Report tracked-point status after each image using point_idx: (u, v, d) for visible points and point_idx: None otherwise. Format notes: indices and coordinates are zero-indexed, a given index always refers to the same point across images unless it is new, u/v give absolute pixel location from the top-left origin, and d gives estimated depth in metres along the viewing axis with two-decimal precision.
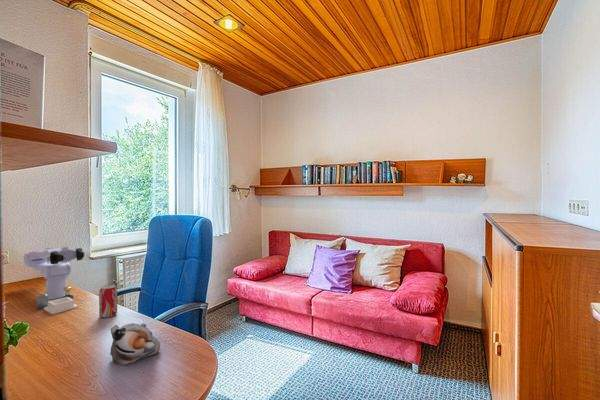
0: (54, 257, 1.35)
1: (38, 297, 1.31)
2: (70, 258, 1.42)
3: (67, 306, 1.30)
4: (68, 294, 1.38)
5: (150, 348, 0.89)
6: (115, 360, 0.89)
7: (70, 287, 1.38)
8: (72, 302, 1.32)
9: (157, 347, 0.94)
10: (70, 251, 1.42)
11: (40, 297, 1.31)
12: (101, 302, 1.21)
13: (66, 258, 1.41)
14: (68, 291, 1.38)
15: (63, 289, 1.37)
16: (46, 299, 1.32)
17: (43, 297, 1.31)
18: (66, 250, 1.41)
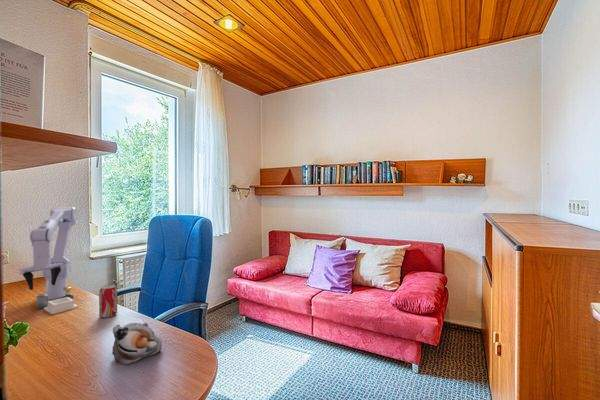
0: None
1: (38, 297, 1.31)
2: None
3: (67, 306, 1.30)
4: (68, 294, 1.38)
5: (152, 347, 0.89)
6: (117, 359, 0.89)
7: (70, 287, 1.38)
8: (72, 302, 1.32)
9: (159, 346, 0.95)
10: (49, 267, 1.33)
11: (40, 297, 1.31)
12: (101, 302, 1.21)
13: None
14: (68, 291, 1.38)
15: (63, 289, 1.37)
16: (46, 299, 1.32)
17: (43, 297, 1.31)
18: None
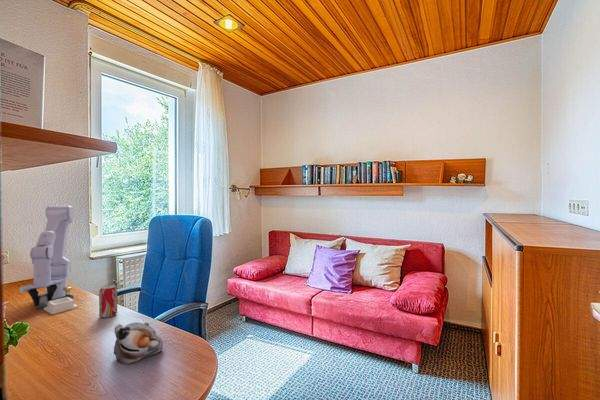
0: None
1: (38, 297, 1.31)
2: None
3: (67, 306, 1.30)
4: (68, 294, 1.38)
5: (154, 346, 0.90)
6: (119, 359, 0.89)
7: (70, 287, 1.38)
8: (72, 302, 1.32)
9: (160, 346, 0.95)
10: None
11: (40, 297, 1.31)
12: (101, 302, 1.21)
13: None
14: (68, 291, 1.38)
15: (63, 289, 1.37)
16: (46, 299, 1.32)
17: (43, 297, 1.31)
18: None
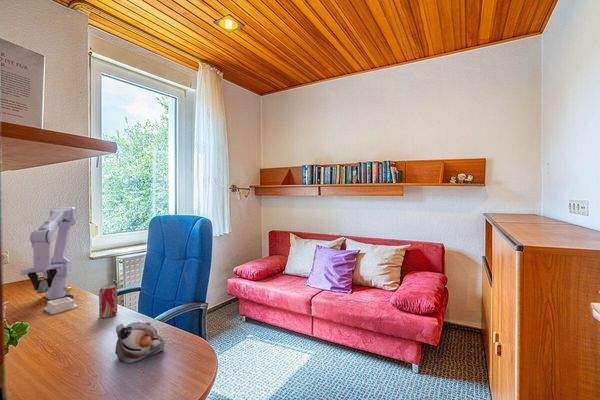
0: None
1: (38, 281, 1.30)
2: None
3: (67, 306, 1.30)
4: (68, 294, 1.38)
5: (156, 346, 0.90)
6: (121, 358, 0.90)
7: (70, 287, 1.38)
8: (72, 302, 1.32)
9: (162, 345, 0.96)
10: (49, 268, 1.33)
11: (40, 281, 1.30)
12: (101, 302, 1.21)
13: None
14: (68, 291, 1.38)
15: (63, 289, 1.37)
16: (46, 283, 1.32)
17: (43, 281, 1.31)
18: None
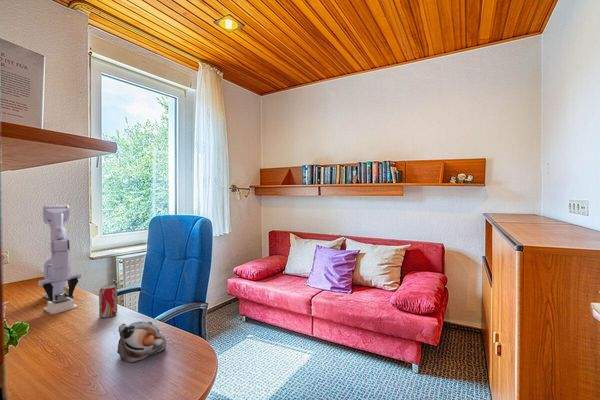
0: None
1: (56, 296, 1.29)
2: None
3: (67, 306, 1.30)
4: (68, 294, 1.38)
5: (159, 345, 0.91)
6: (123, 358, 0.90)
7: None
8: (72, 302, 1.32)
9: (164, 344, 0.96)
10: None
11: (58, 296, 1.29)
12: (101, 302, 1.21)
13: None
14: (68, 291, 1.38)
15: (63, 289, 1.37)
16: (64, 298, 1.31)
17: (61, 296, 1.30)
18: None
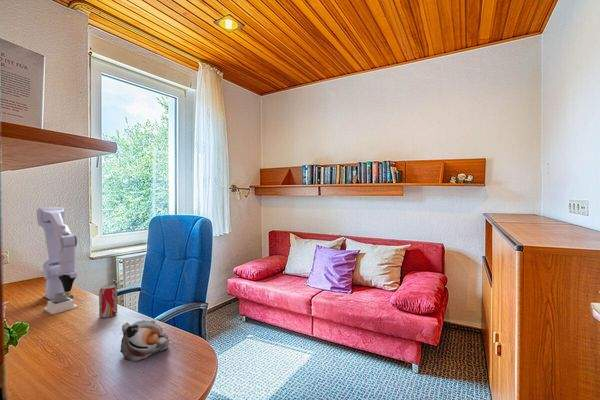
0: None
1: (56, 296, 1.29)
2: None
3: (67, 306, 1.30)
4: None
5: (162, 343, 0.91)
6: (127, 357, 0.91)
7: (70, 291, 1.38)
8: (72, 302, 1.32)
9: (167, 343, 0.97)
10: None
11: (58, 296, 1.29)
12: (101, 302, 1.21)
13: None
14: (68, 295, 1.38)
15: None
16: (64, 298, 1.31)
17: (61, 296, 1.30)
18: None
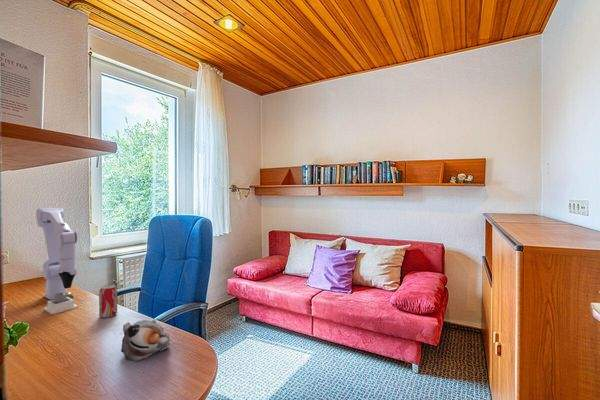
0: None
1: (56, 296, 1.29)
2: None
3: (67, 306, 1.30)
4: None
5: (163, 343, 0.92)
6: (128, 356, 0.91)
7: (70, 293, 1.38)
8: (72, 302, 1.32)
9: (167, 342, 0.97)
10: None
11: (58, 296, 1.29)
12: (101, 302, 1.21)
13: None
14: None
15: None
16: (64, 298, 1.31)
17: (61, 296, 1.30)
18: None
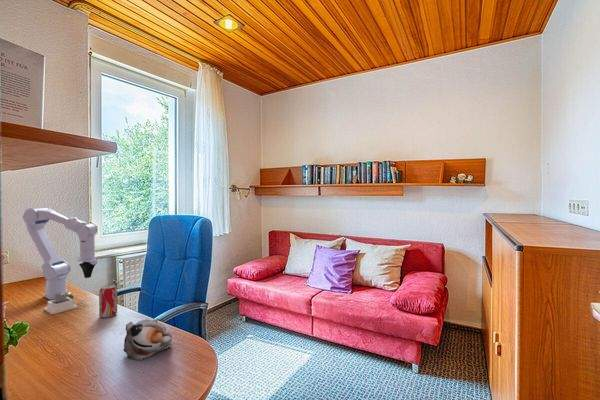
0: None
1: (56, 296, 1.29)
2: None
3: (67, 306, 1.30)
4: None
5: (166, 342, 0.92)
6: (131, 355, 0.91)
7: (70, 293, 1.38)
8: (72, 302, 1.32)
9: (170, 341, 0.98)
10: None
11: (58, 296, 1.29)
12: (101, 302, 1.21)
13: None
14: None
15: None
16: (64, 298, 1.31)
17: (61, 296, 1.30)
18: None
